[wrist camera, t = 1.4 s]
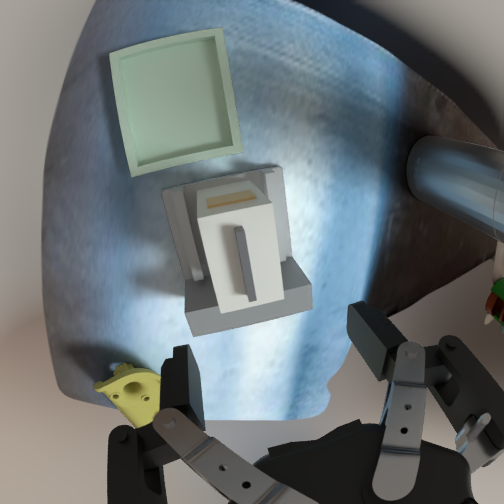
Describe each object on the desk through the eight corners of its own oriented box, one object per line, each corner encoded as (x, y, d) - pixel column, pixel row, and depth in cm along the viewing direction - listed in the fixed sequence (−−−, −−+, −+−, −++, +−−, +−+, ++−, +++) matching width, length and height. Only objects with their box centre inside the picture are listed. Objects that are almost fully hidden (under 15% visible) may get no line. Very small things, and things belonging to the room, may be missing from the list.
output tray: (220, 33, 22) (222, 27, 20) (240, 150, 27) (243, 152, 25) (114, 57, 21) (109, 53, 19) (135, 174, 26) (131, 177, 24)
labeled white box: (249, 177, 28) (275, 204, 19) (260, 252, 31) (287, 305, 22) (196, 188, 27) (196, 220, 18) (213, 263, 31) (222, 321, 22)
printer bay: (279, 165, 29) (303, 177, 22) (291, 275, 34) (312, 309, 28) (162, 189, 27) (152, 208, 21) (192, 298, 33) (193, 337, 27)
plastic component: (197, 429, 41) (149, 455, 37) (178, 401, 47) (133, 424, 42) (155, 360, 31) (87, 394, 27) (136, 327, 37) (77, 356, 32)
